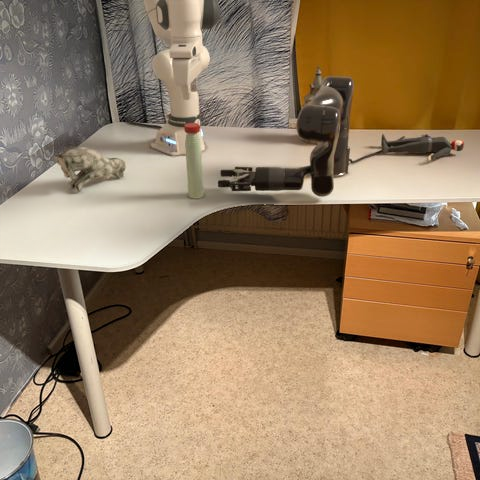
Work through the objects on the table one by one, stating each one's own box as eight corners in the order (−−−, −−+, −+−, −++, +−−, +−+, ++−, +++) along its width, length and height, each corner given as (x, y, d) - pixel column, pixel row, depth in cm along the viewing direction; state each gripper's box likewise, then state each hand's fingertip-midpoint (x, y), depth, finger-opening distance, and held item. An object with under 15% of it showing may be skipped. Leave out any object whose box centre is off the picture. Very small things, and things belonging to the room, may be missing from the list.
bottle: (186, 194, 176) (181, 125, 164) (198, 191, 178) (195, 123, 166) (193, 199, 172) (188, 129, 161) (206, 196, 174) (202, 126, 163)
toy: (381, 127, 217) (459, 127, 211) (380, 142, 220) (457, 142, 214) (382, 148, 195) (470, 149, 189) (381, 165, 198) (468, 166, 192)
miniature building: (320, 132, 228) (325, 59, 214) (338, 142, 217) (344, 66, 203) (293, 137, 224) (296, 63, 209) (310, 147, 213) (314, 69, 198)
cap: (182, 130, 165) (181, 124, 164) (195, 127, 167) (194, 121, 166) (189, 134, 161) (188, 128, 160) (202, 131, 164) (202, 125, 163)
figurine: (92, 206, 176) (137, 172, 185) (60, 158, 168) (108, 124, 176) (80, 204, 184) (124, 171, 193) (49, 157, 175) (96, 125, 184)
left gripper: (184, 40, 162) (187, 87, 168) (167, 52, 144) (171, 104, 151) (205, 40, 161) (207, 87, 168) (190, 52, 143) (193, 104, 150)
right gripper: (270, 159, 174) (221, 159, 175) (269, 176, 162) (216, 176, 163) (270, 180, 178) (221, 180, 179) (269, 199, 166) (217, 198, 167)
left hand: (190, 95), depth 159 cm, fingers open, 8 cm apart
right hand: (219, 178), depth 171 cm, fingers open, 8 cm apart
